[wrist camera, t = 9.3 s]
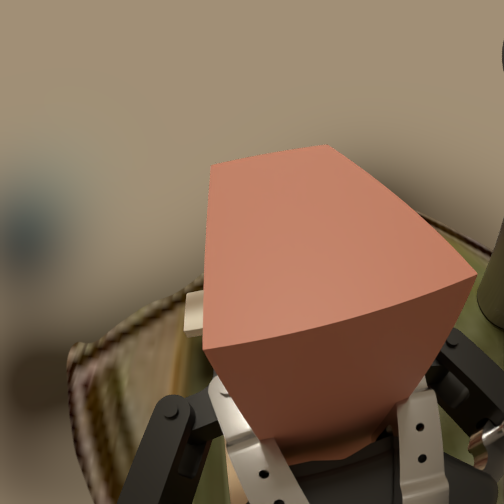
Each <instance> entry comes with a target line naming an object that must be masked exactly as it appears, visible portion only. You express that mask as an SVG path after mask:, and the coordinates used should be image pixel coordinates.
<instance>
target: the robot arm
mask: <svg viewBox="0 0 504 504" xmlns="http://www.w3.org/2000/svg"><path fill="white" fill-rule="evenodd" d="M502 63H503V70H504V42H503V48H502ZM477 300H478V303H479V306H480V308H481V310H482V312H483V313H484V314H485V316H486V317H487V318H488V319H489V320H490V321H491V322H492V323H494V324H495V325H497V326H498V327H500V328H503V329H504V218H503V222H502V225H501V229H500V232H499V235H498V238H497V241H496V244H495V248H494V250H493V253H492V255H491V258H490V261H489V263H488V266H487V268H486V271H485V273H484V276H483V278H482V281H481V283H480V285H479V288H478V291H477ZM437 403H438V404H439V405H440V406H441V407H442V408H443V409H444V411H445V412H446V413H447V414H448V415H449V416H450V417H451V418H452V419H453V420H454V421H455V422H456V423H457V424H458V425H459V427H460V428H461V429H462V430H463V431H464V432H465V433H466V434H467V435H468V436H469V437H470V441H469V445H468V451H469V453H472V455H473V457H474V467H473V466H471V465H469V464H467V463H465V462H463V461H461V460H459V459H457V458H455V457H453V456H451V455H449V454H447V453H445V452H443V444H442V434H441V425H440V418H439V411H438V404H437ZM416 429H417V430H418V431H417V430H416ZM221 435H224V437H225V440H226V449H227V452H228V455H229V458H230V460H231V463H232V465H233V467H234V470H235V472H236V474H237V477H238V479H239V481H240V483H241V486H242V488H243V490H244V492H245V494H246V497H247V499H248V502H247V503H246V504H496V502H497V498H498V487H497V482H498V481H499V480H500V478H501V477H502V476H503V474H504V371H503V370H502V369H501V368H500V367H499V366H498V365H497V364H496V363H495V362H494V361H493V360H491V359H490V358H489V357H488V356H487V355H486V354H485V353H484V352H483V351H482V350H481V349H480V348H479V347H477V346H476V345H475V344H474V343H473V342H472V341H471V340H470V339H468V338H467V337H466V336H465V335H464V334H463V333H462V332H461V331H459V330H458V329H456V328H453V329H452V330H451V332H450V334H449V336H448V338H447V340H446V341H445V343H444V345H443V347H442V348H441V350H440V352H439V353H438V355H437V357H436V358H435V360H434V361H433V363H432V365H431V366H430V368H429V369H428V371H427V372H426V374H425V375H424V377H423V378H422V380H421V381H420V383H419V384H418V386H417V387H416V388H415V390H414V391H413V393H412V394H411V395H410V397H408V398H406V399H403V400H401V401H398V402H396V403H395V404H394V406H393V407H392V409H391V410H390V411H389V413H388V414H387V416H386V417H385V418H384V420H383V421H382V422H381V423H380V425H379V426H378V427H377V429H376V430H375V431H374V432H373V434H372V435H371V443H370V444H369V445H367V446H365V447H364V448H362V449H361V450H359V451H357V452H356V453H354V454H352V455H351V456H349V457H347V458H345V459H341V460H320V461H308V462H304V463H299V464H294V465H289V466H288V464H287V462H286V460H285V459H284V457H283V455H282V453H281V451H280V449H279V447H278V445H277V443H276V441H275V439H274V437H273V438H267V439H261V440H259V439H258V438H257V436H256V435H255V433H254V432H253V431H252V429H251V428H250V426H249V425H248V423H247V422H246V420H245V419H244V417H243V416H242V414H241V412H240V411H239V409H238V408H237V406H236V405H235V403H234V402H233V400H232V398H231V397H230V395H229V394H228V392H227V390H226V389H225V387H224V385H223V384H222V382H221V381H220V379H219V377H218V375H217V374H216V372H215V370H214V374H213V378H212V381H211V382H210V384H209V385H208V386H207V387H206V388H205V389H204V390H202V391H200V392H198V393H196V394H194V395H191V396H189V397H187V398H183V397H181V396H179V395H168V396H165V397H163V398H162V399H161V400H159V401H158V403H157V404H156V406H155V408H154V411H153V413H152V416H151V418H150V420H149V423H148V425H147V428H146V430H145V433H144V435H143V438H142V440H141V443H140V445H139V448H138V450H137V453H136V455H135V458H134V460H133V463H132V465H131V468H130V470H129V473H128V476H127V478H126V481H125V483H124V486H123V489H122V491H121V494H120V497H119V499H118V502H117V504H192V502H193V499H194V496H195V492H196V489H197V486H198V483H199V480H200V477H201V474H202V471H203V468H204V464H205V461H206V458H207V455H208V452H209V449H210V445H211V442H212V439H214V438H216V437H219V436H221Z"/></svg>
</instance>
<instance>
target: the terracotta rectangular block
mask: <svg viewBox="0 0 504 504" xmlns="http://www.w3.org/2000/svg"><path fill="white" fill-rule="evenodd" d="M476 277H477V273H476V272H475V270H474V269H473V268H472V267H471V266H470V265H469V264H468V263H467V262H466V261H465V259H464V258H463V257H462V256H461V255H460V254H459V253H458V252H457V251H456V250H455V249H454V248H453V247H452V246H451V245H450V244H449V243H448V242H447V241H446V240H445V239H444V238H443V237H442V236H441V235H440V234H439V233H438V232H437V231H436V230H435V229H434V228H433V227H432V226H430V225H429V224H428V223H427V222H426V221H425V220H424V219H423V218H422V217H421V216H419V215H418V214H417V213H416V212H415V211H414V210H413V209H412V208H410V207H409V206H408V205H407V204H406V203H404V202H403V201H402V200H401V199H400V198H398V197H397V196H396V195H395V194H394V193H393V192H391V191H390V190H389V189H388V188H386V187H385V186H384V185H383V184H381V183H380V182H379V181H377V180H376V179H375V178H374V177H372V176H371V175H370V174H368V173H367V172H366V171H364V170H363V169H362V168H360V167H359V166H358V165H356V164H355V163H353V162H352V161H351V160H349V159H348V158H346V157H345V156H343V155H342V154H341V153H339V152H338V151H336V150H335V149H333V148H332V147H330V146H329V145H319V146H312V147H305V148H298V149H292V150H285V151H279V152H274V153H268V154H262V155H257V156H252V157H247V158H242V159H237V160H233V161H227V162H223V163H219V164H214V165H211V171H210V184H209V198H208V211H207V228H206V245H205V267H204V296H203V351H204V353H205V355H206V357H207V358H208V360H209V362H210V364H211V365H212V367H213V369H214V370H215V372H216V374H217V375H218V377H219V379H220V381H221V382H222V384H223V385H224V387H225V389H226V390H227V392H228V394H229V395H230V397H231V398H232V400H233V402H234V403H235V405H236V406H237V408H238V409H239V411H240V412H241V414H242V416H243V417H244V419H245V420H246V422H247V423H248V425H249V426H250V428H251V429H252V431H253V432H254V433H255V435H256V436H257V438H258V439H259V440H261V439H267V438H273V437H274V439H275V441H276V443H277V445H278V447H279V449H280V451H281V453H282V455H283V457H284V459H285V460H286V462H287V464H288V466H289V465H294V464H299V463H304V462H308V461H320V460H341V459H345V458H347V457H349V456H351V455H352V454H354V453H356V452H357V451H359V450H361V449H362V448H364V447H365V446H367V445H369V444H370V443H371V435H372V434H373V432H374V431H375V430H376V429H377V427H378V426H379V425H380V423H381V422H382V421H383V420H384V418H385V417H386V416H387V414H388V413H389V411H390V410H391V409H392V407H393V406H394V404H395V403H396V402H398V401H401V400H403V399H406V398H408V397H410V395H411V394H412V393H413V391H414V390H415V388H416V387H417V386H418V384H419V383H420V381H421V380H422V378H423V377H424V375H425V374H426V372H427V371H428V369H429V368H430V366H431V365H432V363H433V361H434V360H435V358H436V357H437V355H438V353H439V352H440V350H441V348H442V347H443V345H444V343H445V341H446V340H447V338H448V336H449V334H450V332H451V330H452V329H453V327H454V325H455V323H456V321H457V319H458V317H459V315H460V313H461V311H462V309H463V307H464V304H465V302H466V300H467V298H468V296H469V293H470V291H471V289H472V287H473V284H474V282H475V279H476Z"/></svg>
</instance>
